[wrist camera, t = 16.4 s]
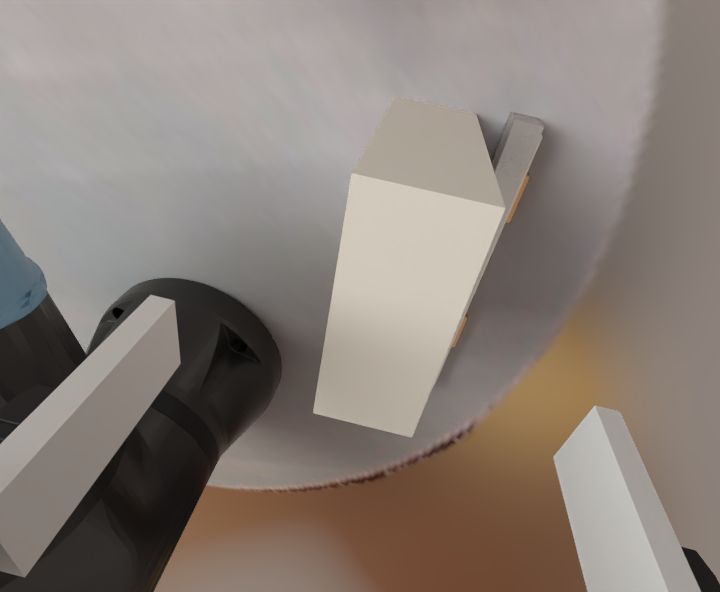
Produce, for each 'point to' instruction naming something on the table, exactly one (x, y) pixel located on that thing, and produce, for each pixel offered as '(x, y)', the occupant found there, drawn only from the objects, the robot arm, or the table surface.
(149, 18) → the table surface
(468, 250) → the carton box
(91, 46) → the table surface
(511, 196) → the rail
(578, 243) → the table surface
